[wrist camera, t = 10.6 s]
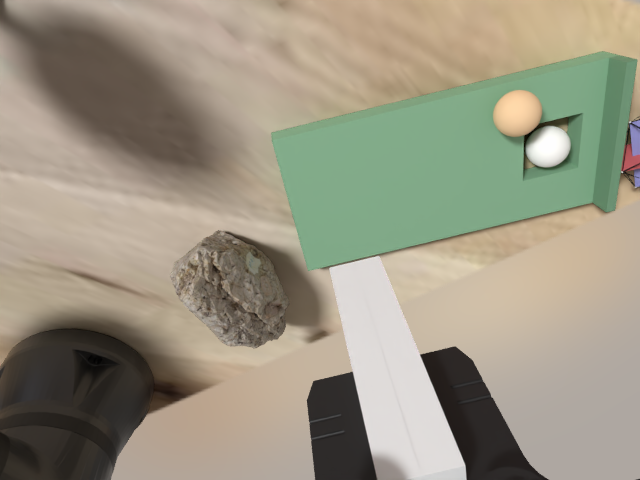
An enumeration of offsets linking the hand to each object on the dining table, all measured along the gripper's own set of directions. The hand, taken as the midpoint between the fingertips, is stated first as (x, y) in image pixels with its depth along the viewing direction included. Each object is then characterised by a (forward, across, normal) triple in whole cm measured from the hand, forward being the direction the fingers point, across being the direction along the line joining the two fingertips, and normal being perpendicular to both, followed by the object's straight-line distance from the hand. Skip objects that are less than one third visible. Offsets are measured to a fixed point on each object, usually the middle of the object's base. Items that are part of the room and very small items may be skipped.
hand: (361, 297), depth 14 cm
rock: (+27, -10, -14) cm, 32 cm away
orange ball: (+23, +16, -4) cm, 28 cm away
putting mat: (+26, +11, -9) cm, 30 cm away
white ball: (+25, +20, -9) cm, 33 cm away
